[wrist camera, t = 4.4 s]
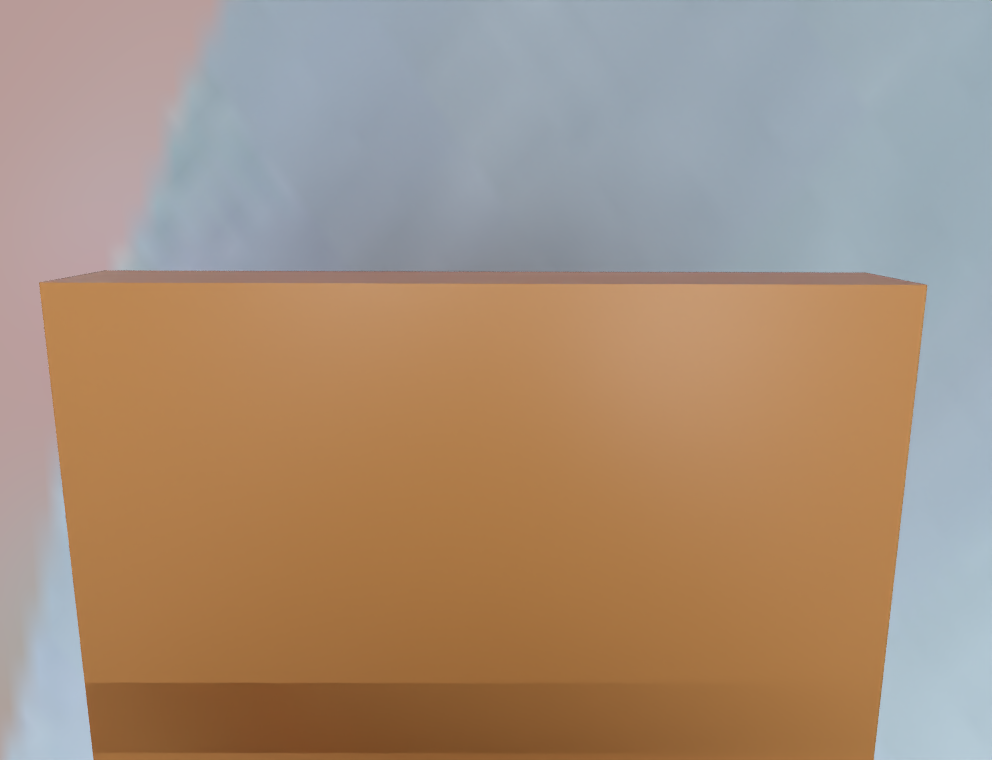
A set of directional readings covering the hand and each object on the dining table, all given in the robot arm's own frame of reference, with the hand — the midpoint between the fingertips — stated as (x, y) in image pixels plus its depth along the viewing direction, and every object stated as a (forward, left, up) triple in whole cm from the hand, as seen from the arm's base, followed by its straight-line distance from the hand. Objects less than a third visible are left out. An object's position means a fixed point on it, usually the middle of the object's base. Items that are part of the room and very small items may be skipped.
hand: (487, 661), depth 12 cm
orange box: (-1, 0, -2) cm, 2 cm away
